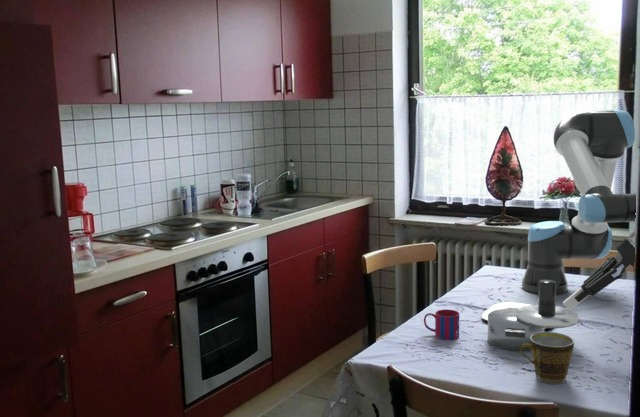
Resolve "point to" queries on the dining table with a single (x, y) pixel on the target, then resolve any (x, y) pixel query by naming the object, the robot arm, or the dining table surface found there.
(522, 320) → the lid
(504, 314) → the pot
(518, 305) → the plate
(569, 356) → the ceramic cup
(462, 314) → the dining table surface
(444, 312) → the cup
